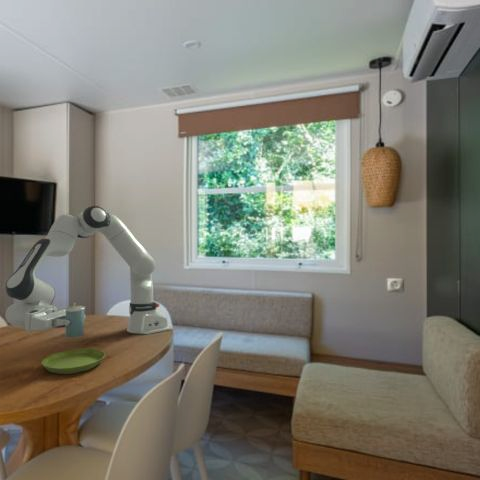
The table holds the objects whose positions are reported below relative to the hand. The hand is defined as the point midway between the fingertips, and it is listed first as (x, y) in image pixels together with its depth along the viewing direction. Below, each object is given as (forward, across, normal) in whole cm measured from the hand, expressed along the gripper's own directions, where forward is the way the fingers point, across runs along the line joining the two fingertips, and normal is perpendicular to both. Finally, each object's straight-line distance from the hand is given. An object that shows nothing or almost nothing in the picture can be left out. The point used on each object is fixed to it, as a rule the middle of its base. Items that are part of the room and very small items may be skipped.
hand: (77, 319), depth 118 cm
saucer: (-1, 0, -17) cm, 17 cm away
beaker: (-1, 0, -6) cm, 6 cm away
